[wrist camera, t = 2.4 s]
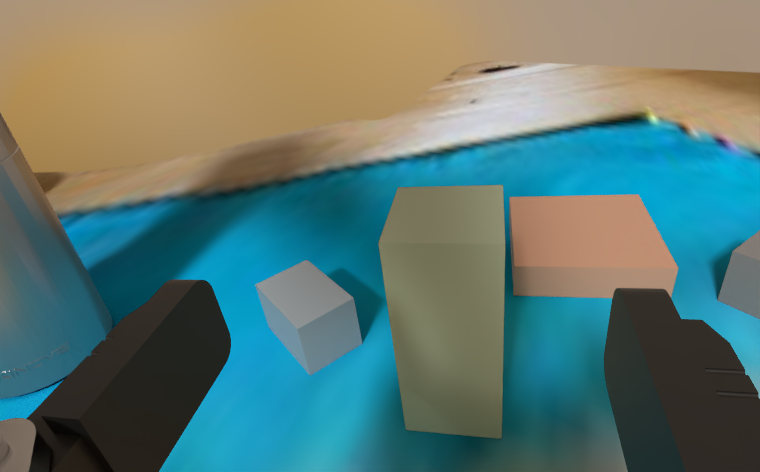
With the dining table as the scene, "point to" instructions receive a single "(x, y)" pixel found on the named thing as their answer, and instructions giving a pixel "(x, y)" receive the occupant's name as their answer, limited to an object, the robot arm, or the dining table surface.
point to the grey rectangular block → (743, 278)
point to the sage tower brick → (447, 306)
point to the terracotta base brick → (586, 246)
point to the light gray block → (310, 315)
